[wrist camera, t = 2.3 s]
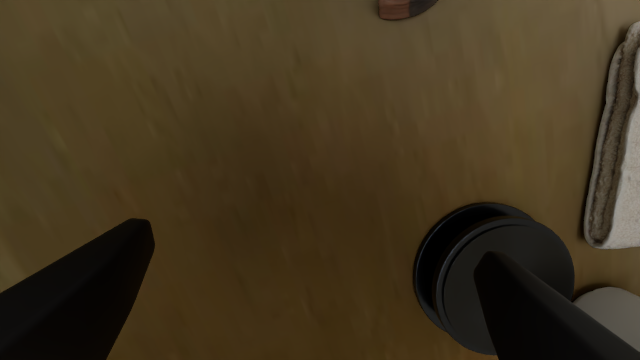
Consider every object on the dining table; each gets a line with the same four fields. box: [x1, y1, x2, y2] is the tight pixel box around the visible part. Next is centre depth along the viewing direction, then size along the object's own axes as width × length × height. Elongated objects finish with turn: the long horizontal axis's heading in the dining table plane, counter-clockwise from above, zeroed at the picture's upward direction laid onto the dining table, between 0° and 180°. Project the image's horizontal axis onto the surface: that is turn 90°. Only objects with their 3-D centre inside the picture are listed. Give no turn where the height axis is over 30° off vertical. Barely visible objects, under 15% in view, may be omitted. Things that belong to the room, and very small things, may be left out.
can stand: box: [413, 202, 575, 355], centre depth 24 cm, size 12×12×3 cm
